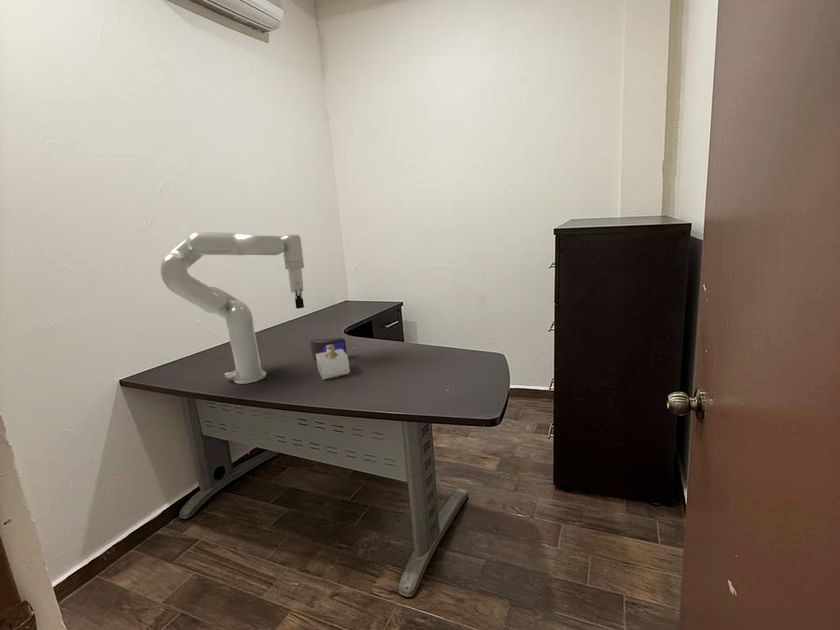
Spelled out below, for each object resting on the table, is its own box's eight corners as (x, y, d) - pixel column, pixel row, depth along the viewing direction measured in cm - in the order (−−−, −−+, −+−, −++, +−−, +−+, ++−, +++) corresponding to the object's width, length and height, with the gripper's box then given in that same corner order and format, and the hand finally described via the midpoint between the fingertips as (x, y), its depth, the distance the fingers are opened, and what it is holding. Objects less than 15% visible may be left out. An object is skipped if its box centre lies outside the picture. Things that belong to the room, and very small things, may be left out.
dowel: (330, 375, 168) (326, 347, 165) (329, 373, 171) (325, 345, 168) (338, 374, 169) (334, 346, 166) (337, 371, 172) (333, 344, 169)
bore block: (322, 380, 163) (320, 361, 161) (318, 371, 173) (315, 353, 171) (350, 374, 167) (347, 356, 165) (344, 366, 177) (342, 348, 175)
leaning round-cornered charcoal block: (310, 362, 186) (306, 342, 184) (313, 358, 191) (310, 339, 188) (345, 360, 184) (342, 340, 182) (347, 357, 189) (345, 337, 186)
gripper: (284, 264, 178) (290, 305, 182) (285, 267, 164) (291, 312, 169) (302, 262, 180) (307, 303, 185) (305, 265, 167) (310, 310, 171)
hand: (300, 307), depth 177 cm, fingers closed
